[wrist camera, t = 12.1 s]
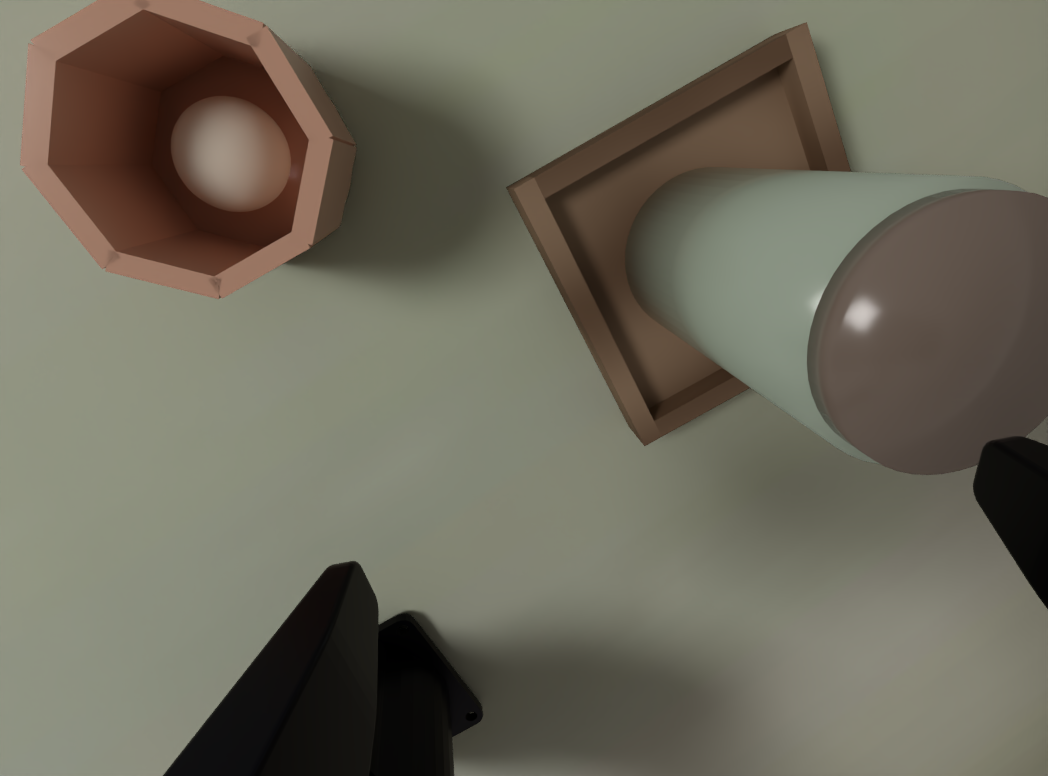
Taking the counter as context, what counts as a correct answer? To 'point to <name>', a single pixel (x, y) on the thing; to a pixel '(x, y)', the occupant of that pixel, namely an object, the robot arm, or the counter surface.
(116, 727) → the counter surface
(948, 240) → the spice jar
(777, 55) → the walnut tray
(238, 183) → the cream ball
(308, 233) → the terracotta cup
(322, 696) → the robot arm
